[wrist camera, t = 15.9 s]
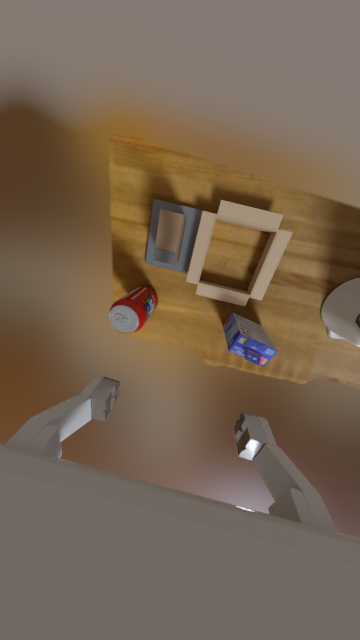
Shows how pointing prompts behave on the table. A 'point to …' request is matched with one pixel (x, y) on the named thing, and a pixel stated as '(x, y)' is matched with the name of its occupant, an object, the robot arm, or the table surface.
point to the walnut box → (169, 236)
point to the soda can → (133, 309)
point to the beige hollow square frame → (266, 263)
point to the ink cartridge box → (248, 340)
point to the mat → (188, 239)
